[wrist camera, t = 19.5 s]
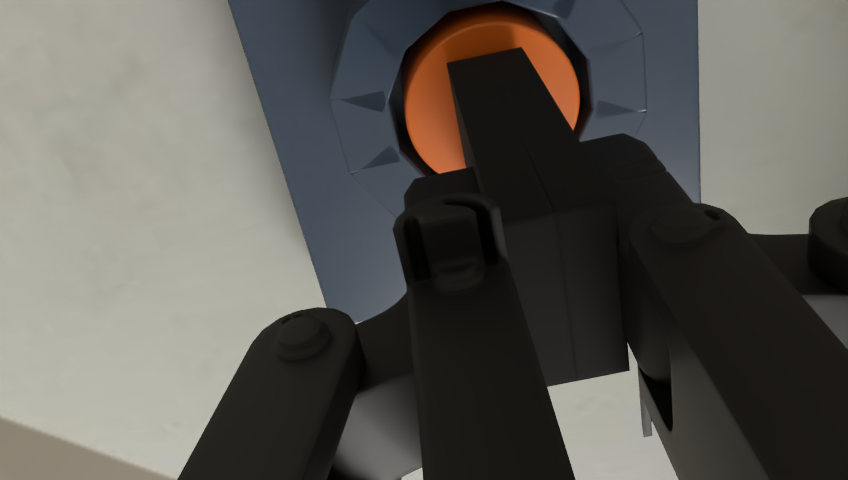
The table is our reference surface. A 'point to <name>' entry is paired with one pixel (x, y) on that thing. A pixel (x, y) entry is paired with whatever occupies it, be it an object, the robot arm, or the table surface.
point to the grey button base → (386, 125)
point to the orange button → (465, 39)
